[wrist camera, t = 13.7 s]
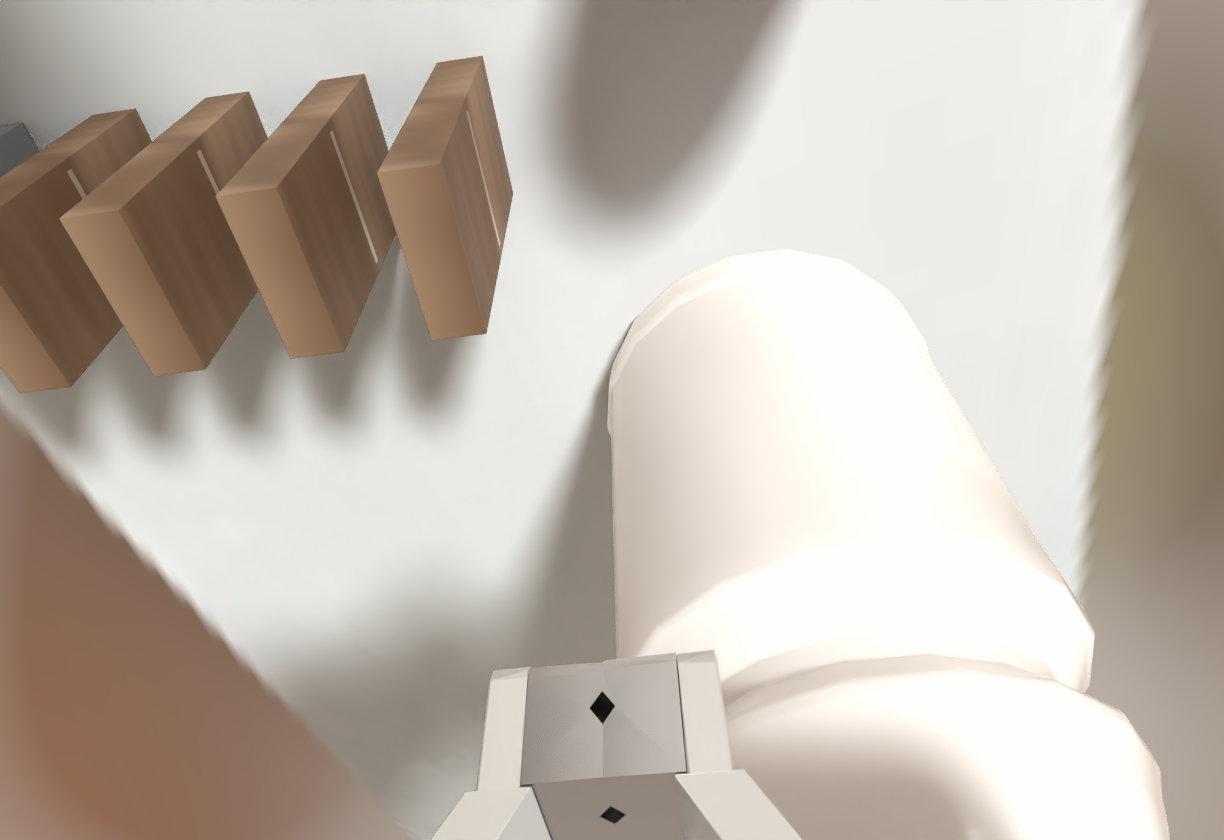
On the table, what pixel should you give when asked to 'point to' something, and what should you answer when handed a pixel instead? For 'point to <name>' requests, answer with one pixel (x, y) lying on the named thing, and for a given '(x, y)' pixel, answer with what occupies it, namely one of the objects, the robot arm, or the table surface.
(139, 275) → the domino
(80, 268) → the domino
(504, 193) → the domino
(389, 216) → the domino
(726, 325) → the bottle
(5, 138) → the end domino
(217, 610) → the table surface
